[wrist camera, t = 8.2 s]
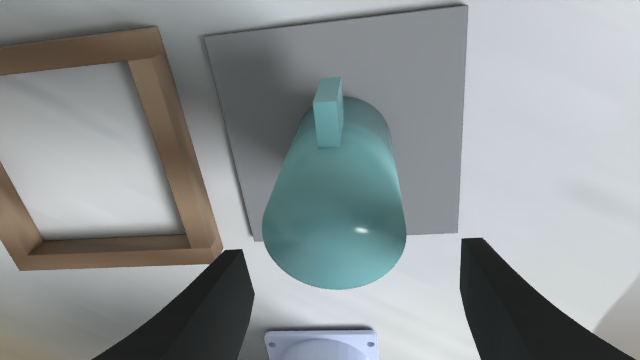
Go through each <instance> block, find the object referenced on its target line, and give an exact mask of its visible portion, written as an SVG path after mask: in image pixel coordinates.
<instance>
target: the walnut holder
mask: <svg viewBox="0 0 640 360" xmlns="http://www.w3.org/2000/svg"><path fill="white" fill-rule="evenodd" d="M123 61H127V62H128V65H129V68H130V70H131V73H132V76H133V79H134V82H135V85H136V88H137V91H138V94H139V97H140V100H141V103H142V106H143V108H144V111H145V114H146V117H147V120H148V123H149V126H150V129H151V132H152V135H153V138H154V141H155V143H156V146H157V149H158V152H159V155H160V158H161V161H162V164H163V167H164V170H165V173H166V176H167V179H168V181H169V184H170V187H171V190H172V193H173V196H174V199H175V202H176V205H177V208H178V211H179V214H180V217H181V219H182V222H183V225H184V228H185V231H186V234H184V235H163V236H142V237H120V238H99V239H78V240H57V241H44V240H43V238H42V237H41V235H40V233H39V231H38V229H37V228H36V226H35V224H34V222H33V220H32V218H31V217H30V215H29V213H28V211H27V209H26V208H25V206H24V204H23V202H22V200H21V199H20V197H19V195H18V193H17V191H16V190H15V188H14V186H13V184H12V182H11V180H10V179H9V177H8V175H7V173H6V171H5V170H4V168H3V166H2V164H1V162H0V239H1V241H2V243H3V244H4V246H5V248H6V249H7V251H8V252H9V254H10V256H11V257H12V259H13V261H14V262H15V264H16V266H17V267H18V269H19V270H20V271H28V270H56V269H84V268H112V267H140V266H168V265H196V264H211V263H212V262H213V261H214V260H215V259H216V258H217V257H218V256H219V255H220V254H221V252H222V250H223V246H222V242H221V239H220V236H219V232H218V229H217V225H216V222H215V219H214V215H213V212H212V209H211V205H210V202H209V198H208V195H207V192H206V188H205V185H204V181H203V178H202V175H201V171H200V168H199V165H198V161H197V158H196V154H195V151H194V148H193V144H192V141H191V137H190V134H189V131H188V127H187V124H186V121H185V117H184V114H183V110H182V107H181V104H180V100H179V97H178V93H177V90H176V87H175V83H174V80H173V77H172V73H171V70H170V66H169V63H168V60H167V56H166V53H165V50H164V46H163V43H162V39H161V36H160V33H159V29H158V26H155V27H147V28H139V29H131V30H123V31H115V32H107V33H99V34H92V35H84V36H76V37H68V38H60V39H52V40H44V41H36V42H28V43H20V44H12V45H4V46H0V75H9V74H18V73H26V72H35V71H44V70H53V69H61V68H70V67H79V66H88V65H97V64H105V63H114V62H123Z"/></svg>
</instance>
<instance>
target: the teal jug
mask: <svg viewBox="0 0 640 360" xmlns="http://www.w3.org/2000/svg"><path fill="white" fill-rule="evenodd" d="M262 236H263V240H264V244H265V247H266V249H267V251H268V253H269V254H270V256H271V258H272V259H273V260H274V261H275V263H276V264H277V265H278V266H279V267H280V268H281V269H282V270H283V271H285V272H286V273H287V274H289V275H290V276H292V277H293V278H295V279H297V280H299V281H301V282H303V283H305V284H308V285H311V286H314V287H319V288H324V289H334V290H342V289H351V288H357V287H361V286H364V285H367V284H369V283H372V282H374V281H376V280H378V279H379V278H381V277H382V276H384V275H385V274H386V273H388V272H389V271H390V270H391V269H392V268H393V267H394V265H395V264H396V263H397V262H398V260H399V258H400V257H401V255H402V252H403V250H404V247H405V243H406V223H405V217H404V211H403V205H402V199H401V193H400V187H399V181H398V175H397V168H396V162H395V156H394V150H393V144H392V138H391V133H390V129H389V126H388V124H387V122H386V120H385V118H384V117H383V116H382V114H381V113H380V112H379V111H378V110H377V109H376V108H375V107H373V106H372V105H371V104H369V103H367V102H365V101H363V100H360V99H357V98H353V97H346V96H342V84H341V77H333V78H322V79H321V81H320V84H319V86H318V89H317V92H316V95H315V98H314V101H313V106H312V107H311V108H310V109H309V110H308V111H307V112H306V113H305V114H304V116H303V117H302V118H301V120H300V122H299V124H298V127H297V129H296V132H295V134H294V137H293V140H292V142H291V145H290V147H289V150H288V152H287V155H286V157H285V160H284V163H283V165H282V168H281V170H280V173H279V175H278V178H277V180H276V183H275V186H274V188H273V191H272V193H271V196H270V198H269V201H268V203H267V206H266V209H265V212H264V214H263V219H262Z"/></svg>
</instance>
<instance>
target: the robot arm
mask: <svg viewBox="0 0 640 360" xmlns="http://www.w3.org/2000/svg"><path fill="white" fill-rule="evenodd" d="M460 292H461V297H462V301H463V306H464V310H465V314H466V318H467V321H468V324H469V327H470V330H471V333H472V336H473V338H474V341H475V344H476V347H477V350H478V352H479V355H480V358H481V360H635V359H634V358H632V357H630V356H629V355H627V354H625V353H623V352H622V351H620V350H618V349H617V348H615V347H614V346H612V345H610V344H609V343H607V342H606V341H604V340H602V339H600V338H599V337H598V336H596V335H595V334H593V333H592V332H590V331H589V330H587V329H585V328H584V327H583V326H581V325H580V324H578V323H577V322H576V321H574V320H573V319H571V318H570V317H569V316H567V315H566V314H565V313H563V312H562V311H560V310H559V309H558V308H557V307H555V306H554V305H553V304H552V303H550V302H549V301H548V300H547V299H546V298H544V297H543V296H542V295H541V294H540V293H538V292H537V291H536V290H535V289H534V288H533V287H532V286H531V285H529V284H528V283H527V282H526V281H525V280H524V279H523V278H522V277H521V276H520V275H519V274H518V273H517V272H516V271H514V270H513V269H512V268H511V267H510V266H509V265H508V264H507V263H506V262H505V261H504V260H503V259H502V258H501V257H500V256H499V254H498V253H497V252H496V251H495V250H494V249H493V248H492V247H491V246H490V245H489V244H488V243H487V242H486V241H485V240H484V239H483V238H464V239H462V241H461V266H460ZM254 295H255V294H254V290H253V287H252V283H251V279H250V276H249V272H248V268H247V265H246V261H245V258H244V254H243V250H242V249H237V250H225V251H224V252H223V253H221V254H220V255H219V256H218V257H217V258H216V259H215V260H214V261H213V262H212V263H211V264H210V265H209V266H208V267H207V268H206V269H205V270H204V271H203V272H202V273H201V274H200V275H199V276H198V277H197V278H196V279H195V280H194V281H193V282H192V283H191V284H190V285H189V286H188V287H187V288H186V289H185V290H184V291H182V292H181V293H180V294H179V295H178V296H177V297H176V298H175V299H173V300H172V301H171V302H170V303H169V304H168V305H167V306H166V307H164V308H163V309H162V310H161V311H160V312H159V313H157V314H156V315H155V316H154V317H152V318H151V319H150V320H149V321H147V322H146V323H145V324H143V325H142V326H141V327H139V328H138V329H137V330H135V331H134V332H133V333H131V334H130V335H129V336H127V337H126V338H124V339H123V340H121V341H120V342H118V343H117V344H115V345H114V346H112V347H111V348H109V349H108V350H106V351H105V352H103V353H102V354H100V355H98V356H97V357H95V358H93V359H92V360H237V357H238V355H239V352H240V349H241V346H242V343H243V340H244V337H245V334H246V331H247V327H248V324H249V321H250V316H251V311H252V306H253V300H254ZM264 341H265V345H266V348H267V352H268V356H269V359H270V360H379V349H378V337H377V333H376V332H375V331H372V330H330V331H269V332H266V334H265V336H264Z"/></svg>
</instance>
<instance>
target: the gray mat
mask: <svg viewBox="0 0 640 360" xmlns="http://www.w3.org/2000/svg"><path fill="white" fill-rule="evenodd" d="M467 23H468V5H461V6H453V7H444V8H436V9H427V10H419V11H411V12H402V13H394V14H386V15H377V16H369V17H361V18H352V19H344V20H336V21H327V22H319V23H311V24H302V25H294V26H286V27H277V28H269V29H261V30H252V31H244V32H236V33H227V34H219V35H211V36H206V37H204V40H205V44H206V48H207V52H208V56H209V60H210V64H211V68H212V72H213V76H214V80H215V84H216V88H217V93H218V97H219V101H220V105H221V109H222V113H223V117H224V121H225V125H226V129H227V133H228V137H229V141H230V145H231V149H232V153H233V157H234V161H235V165H236V169H237V173H238V177H239V181H240V185H241V190H242V194H243V198H244V202H245V206H246V210H247V214H248V218H249V222H250V226H251V230H252V234H253V238H254V242H259V241H264V240H263V236H262V219H263V214H264V212H265V209H266V206H267V203H268V201H269V198H270V196H271V193H272V191H273V188H274V186H275V183H276V180H277V178H278V175H279V173H280V170H281V168H282V165H283V163H284V160H285V157H286V155H287V152H288V150H289V147H290V145H291V142H292V140H293V137H294V134H295V132H296V129H297V127H298V124H299V122H300V120H301V118H302V117H303V116H304V114H305V113H306V112H307V111H308V110H309V109H310V108H311V107H312V106H313V101H314V98H315V95H316V92H317V89H318V86H319V84H320V81H321V79H322V78H333V77H341V84H342V96H346V97H353V98H357V99H360V100H363V101H365V102H367V103H369V104H371V105H372V106H373V107H375V108H376V109H377V110H378V111H379V112H380V113H381V114H382V116H383V117H384V118H385V120H386V122H387V124H388V126H389V129H390V133H391V138H392V144H393V150H394V156H395V162H396V168H397V175H398V181H399V187H400V193H401V199H402V205H403V211H404V217H405V223H406V235H421V234H444V233H458V214H459V193H460V172H461V151H462V129H463V108H464V87H465V66H466V44H467Z"/></svg>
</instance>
